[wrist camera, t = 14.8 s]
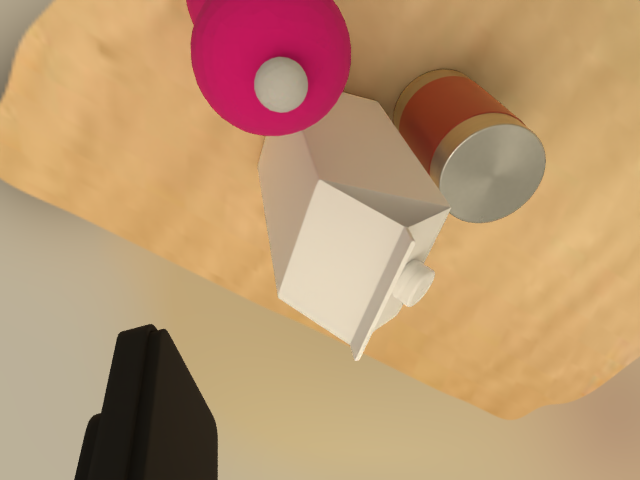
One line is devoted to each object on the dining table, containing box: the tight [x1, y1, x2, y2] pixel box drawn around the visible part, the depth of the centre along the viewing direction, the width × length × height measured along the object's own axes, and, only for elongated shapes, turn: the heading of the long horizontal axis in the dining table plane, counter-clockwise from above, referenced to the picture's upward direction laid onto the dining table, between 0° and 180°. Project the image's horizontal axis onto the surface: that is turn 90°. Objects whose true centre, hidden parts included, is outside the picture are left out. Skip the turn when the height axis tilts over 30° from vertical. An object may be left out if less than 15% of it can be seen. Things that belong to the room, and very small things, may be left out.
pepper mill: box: [186, 0, 351, 136], centre depth 26 cm, size 7×7×20 cm
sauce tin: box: [393, 69, 546, 223], centre depth 37 cm, size 7×7×10 cm
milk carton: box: [258, 92, 451, 361], centre depth 33 cm, size 7×7×19 cm
